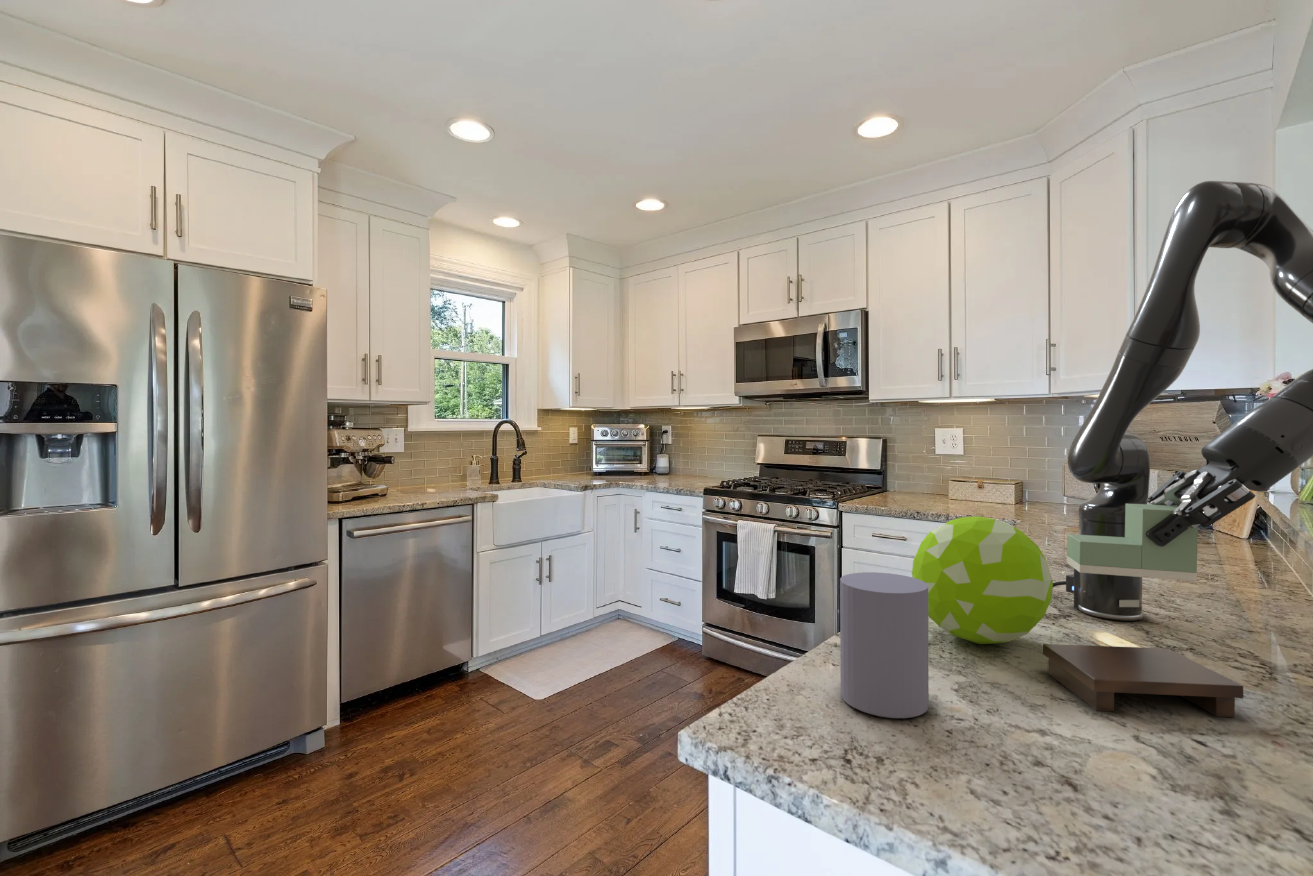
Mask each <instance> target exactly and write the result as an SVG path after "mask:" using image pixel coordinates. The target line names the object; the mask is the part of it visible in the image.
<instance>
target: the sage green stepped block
mask: <svg viewBox="0 0 1313 876" xmlns="http://www.w3.org/2000/svg"><path fill="white" fill-rule="evenodd" d="M1177 508H1178V506H1177V505H1176V506H1175V505H1149V503H1147V504H1126V507H1125V537H1110V536H1092V535H1079V534H1069V533H1068V534H1066V536H1067V537H1066V538H1067V539H1066V564H1068V565H1069V566H1070V567H1071V568H1072V569H1073V570H1074V569H1076V570H1077V571H1079V572H1080V573H1093V574H1106V575H1119V576H1133V577H1142V578H1149V579H1161V580H1162V579H1163V580H1175V581H1189V582H1197V581H1198V573H1197V572H1198V541H1199V539H1198V535H1199V526H1197V527H1195V528H1190V527H1188V529H1187V530H1186V531H1184V532H1183V533H1181V534H1180V535H1179V536H1177V537H1176V538H1175V539H1173V540H1172V541H1171V542H1169V543H1168V544H1166V545H1165V546H1162V547H1161V546H1158V545H1156V544H1155V543H1154V542H1153V541H1151V540H1150V539H1149V538H1148V537H1147V536H1146V532H1147V531H1148V530H1150V529H1151V528H1152V527H1154V526H1155V525H1156V524H1158V523H1159V522H1160V521H1162V520H1163V519H1164V518H1166V517H1167V516H1168V515H1170V514H1172V515H1174V516H1175V514H1173V512H1174V511H1175V510H1176V509H1177Z"/></svg>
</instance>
